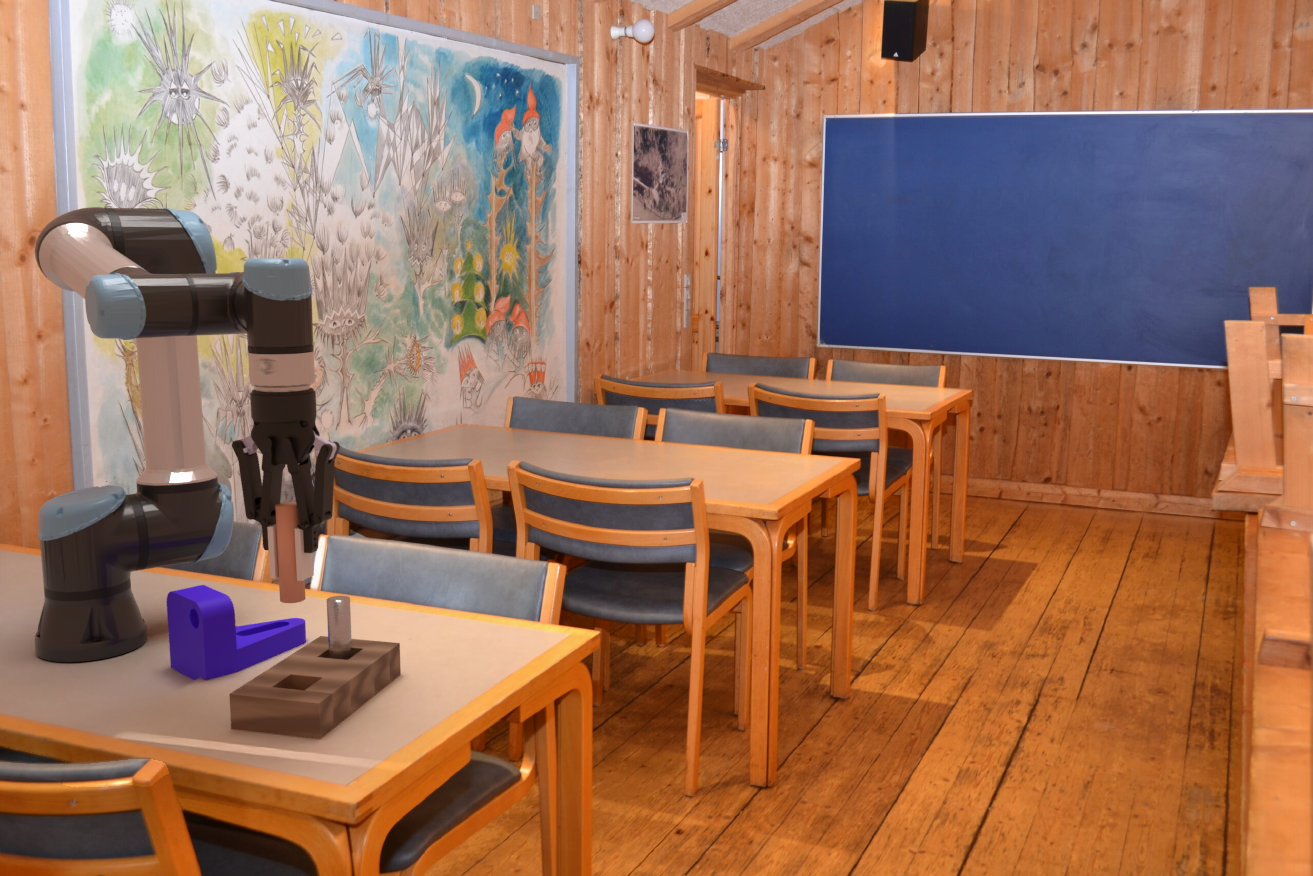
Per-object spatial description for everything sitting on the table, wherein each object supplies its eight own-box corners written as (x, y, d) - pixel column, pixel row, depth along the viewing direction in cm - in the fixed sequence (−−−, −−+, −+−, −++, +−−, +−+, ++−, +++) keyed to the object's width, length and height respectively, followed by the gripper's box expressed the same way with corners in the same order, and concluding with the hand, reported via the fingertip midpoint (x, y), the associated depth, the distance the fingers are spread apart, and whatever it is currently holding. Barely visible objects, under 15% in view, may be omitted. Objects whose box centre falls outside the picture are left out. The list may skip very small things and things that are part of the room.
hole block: (320, 746, 140) (318, 703, 139) (231, 736, 143) (229, 694, 142) (400, 681, 161) (399, 643, 160) (322, 673, 164) (320, 636, 163)
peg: (275, 602, 143) (270, 506, 141) (288, 595, 146) (283, 501, 144) (297, 604, 142) (292, 507, 140) (310, 597, 145) (305, 502, 143)
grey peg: (326, 687, 156) (322, 601, 154) (337, 679, 159) (333, 594, 157) (346, 689, 155) (343, 603, 153) (357, 681, 158) (354, 596, 156)
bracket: (206, 688, 159) (201, 605, 157) (170, 668, 166) (165, 588, 164) (324, 655, 172) (321, 578, 170) (286, 638, 179) (282, 564, 177)
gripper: (204, 389, 138) (216, 580, 142) (327, 393, 134) (336, 589, 138) (241, 382, 145) (251, 564, 149) (358, 385, 141) (365, 573, 145)
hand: (292, 576), depth 143 cm, fingers closed on peg, 3 cm apart
